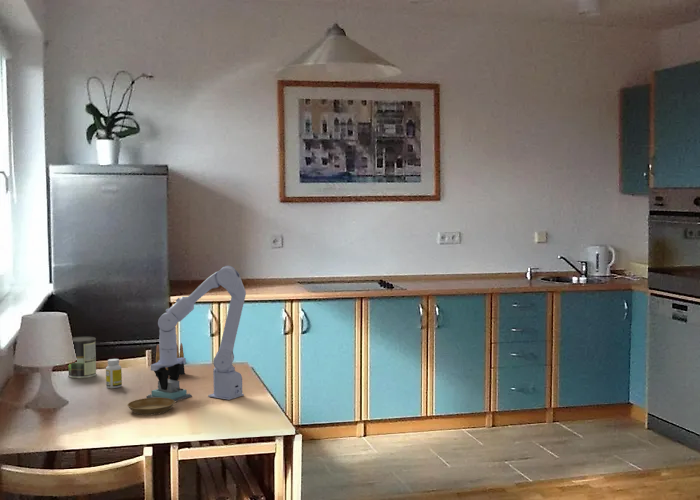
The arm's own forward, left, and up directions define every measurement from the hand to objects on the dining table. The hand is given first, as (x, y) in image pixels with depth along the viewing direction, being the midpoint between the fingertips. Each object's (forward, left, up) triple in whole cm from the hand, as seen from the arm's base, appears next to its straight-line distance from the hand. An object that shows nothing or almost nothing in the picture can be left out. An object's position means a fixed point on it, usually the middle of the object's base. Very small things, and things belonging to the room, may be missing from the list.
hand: (169, 388), depth 289 cm
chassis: (0, 0, -3) cm, 3 cm away
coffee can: (+53, -8, -3) cm, 54 cm away
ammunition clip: (+25, -26, -3) cm, 36 cm away
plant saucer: (-7, +16, -4) cm, 18 cm away
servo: (-1, 0, -2) cm, 2 cm away
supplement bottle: (+28, -1, -3) cm, 28 cm away
